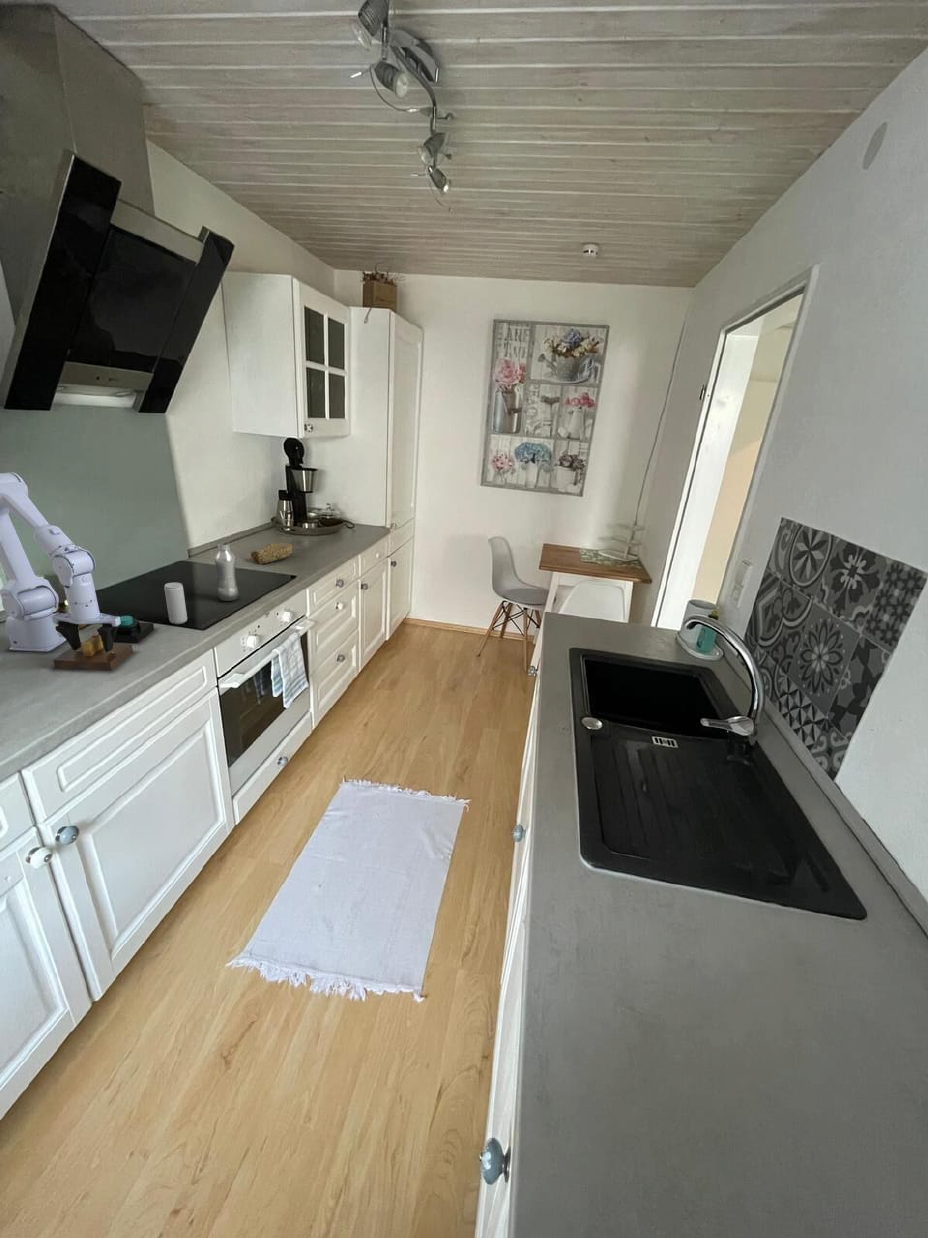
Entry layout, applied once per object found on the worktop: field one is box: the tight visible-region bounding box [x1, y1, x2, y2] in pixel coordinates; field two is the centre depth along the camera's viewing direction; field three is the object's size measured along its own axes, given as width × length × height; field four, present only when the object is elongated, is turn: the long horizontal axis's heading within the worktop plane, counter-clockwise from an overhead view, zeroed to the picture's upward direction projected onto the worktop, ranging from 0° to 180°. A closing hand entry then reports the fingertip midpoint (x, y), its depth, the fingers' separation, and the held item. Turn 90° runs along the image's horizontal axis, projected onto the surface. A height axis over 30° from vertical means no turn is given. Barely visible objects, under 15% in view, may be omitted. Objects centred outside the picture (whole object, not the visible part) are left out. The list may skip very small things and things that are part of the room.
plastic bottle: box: [214, 541, 240, 602], centre depth 165 cm, size 6×7×20 cm
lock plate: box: [52, 641, 134, 672], centre depth 124 cm, size 13×10×3 cm
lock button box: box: [97, 617, 155, 644], centre depth 138 cm, size 10×9×4 cm
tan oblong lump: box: [250, 542, 294, 565], centre depth 213 cm, size 13×8×20 cm
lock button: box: [119, 615, 133, 626], centre depth 137 cm, size 4×4×2 cm
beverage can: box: [164, 582, 188, 625], centre depth 147 cm, size 5×5×12 cm
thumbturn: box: [82, 634, 103, 656], centre depth 123 cm, size 5×2×4 cm, turn 5°
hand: (93, 649), depth 123 cm, fingers open, 7 cm apart
